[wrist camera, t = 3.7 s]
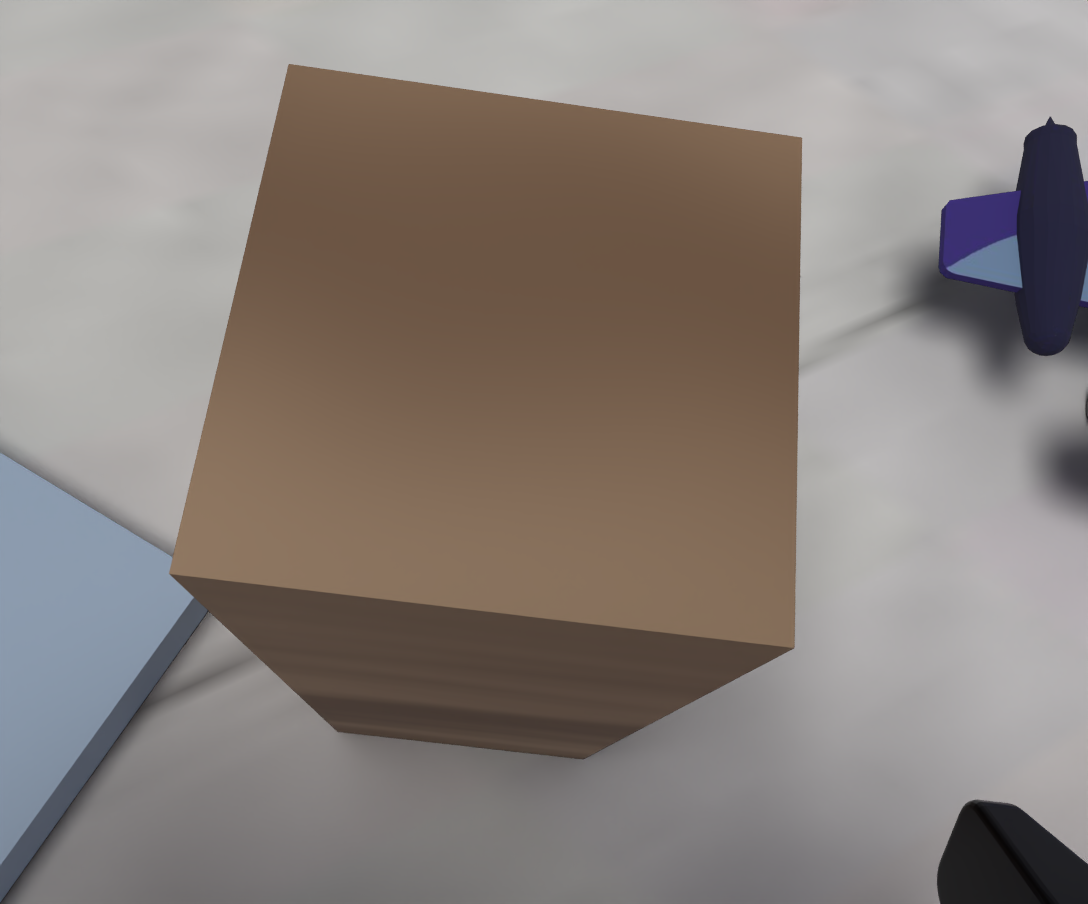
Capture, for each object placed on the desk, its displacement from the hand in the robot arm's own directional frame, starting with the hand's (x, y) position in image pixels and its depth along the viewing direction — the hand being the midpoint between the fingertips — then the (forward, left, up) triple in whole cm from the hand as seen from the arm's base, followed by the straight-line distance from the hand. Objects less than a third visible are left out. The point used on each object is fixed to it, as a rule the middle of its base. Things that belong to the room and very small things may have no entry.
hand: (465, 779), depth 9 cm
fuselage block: (+1, -3, -10) cm, 11 cm away
